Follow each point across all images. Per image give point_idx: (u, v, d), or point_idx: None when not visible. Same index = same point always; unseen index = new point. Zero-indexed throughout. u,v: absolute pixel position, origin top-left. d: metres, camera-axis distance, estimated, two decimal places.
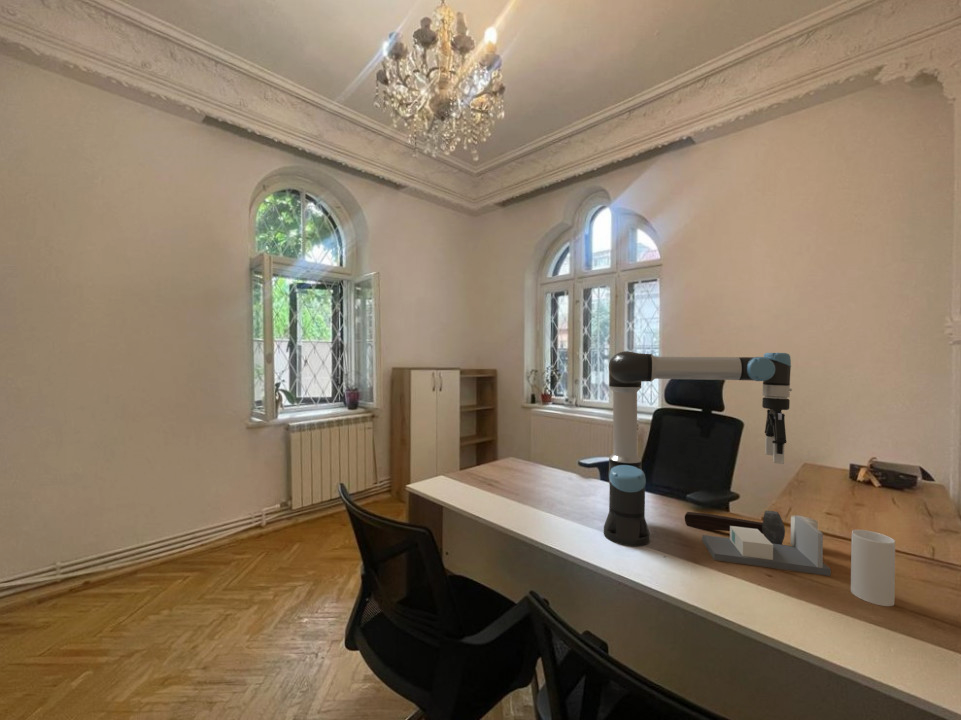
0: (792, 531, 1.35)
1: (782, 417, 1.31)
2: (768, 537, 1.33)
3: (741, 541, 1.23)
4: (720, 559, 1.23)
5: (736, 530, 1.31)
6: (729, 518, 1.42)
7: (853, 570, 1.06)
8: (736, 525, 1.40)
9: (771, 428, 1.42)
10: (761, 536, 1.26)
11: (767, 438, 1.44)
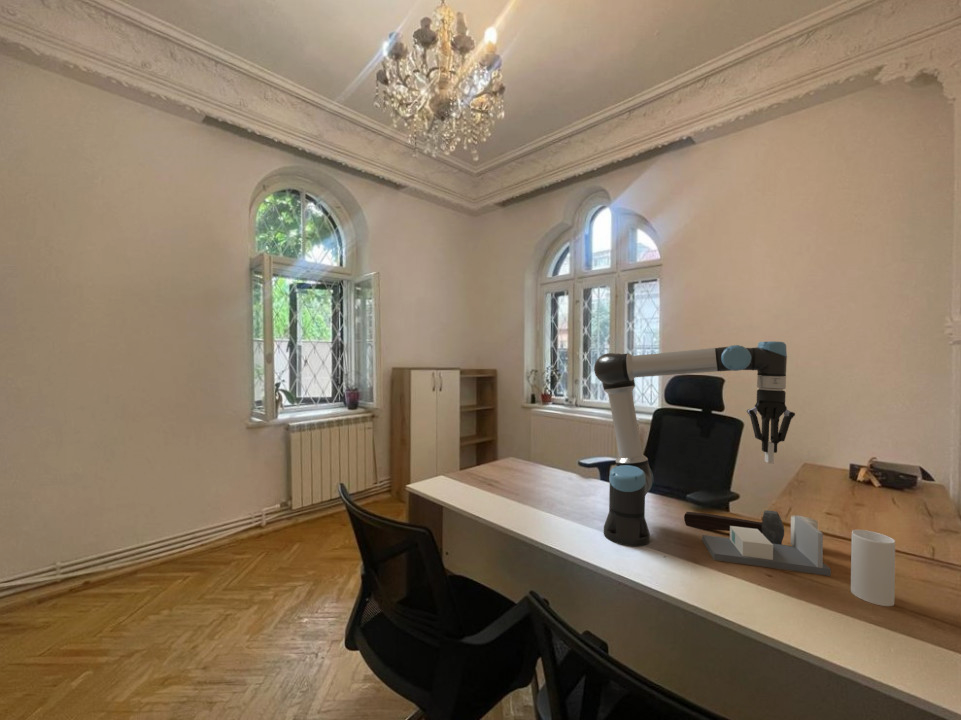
0: (792, 531, 1.35)
1: (750, 414, 1.30)
2: (767, 537, 1.33)
3: (741, 541, 1.23)
4: (720, 559, 1.23)
5: (736, 530, 1.31)
6: (728, 518, 1.42)
7: (853, 570, 1.06)
8: (735, 525, 1.40)
9: (772, 427, 1.29)
10: (761, 536, 1.26)
11: None
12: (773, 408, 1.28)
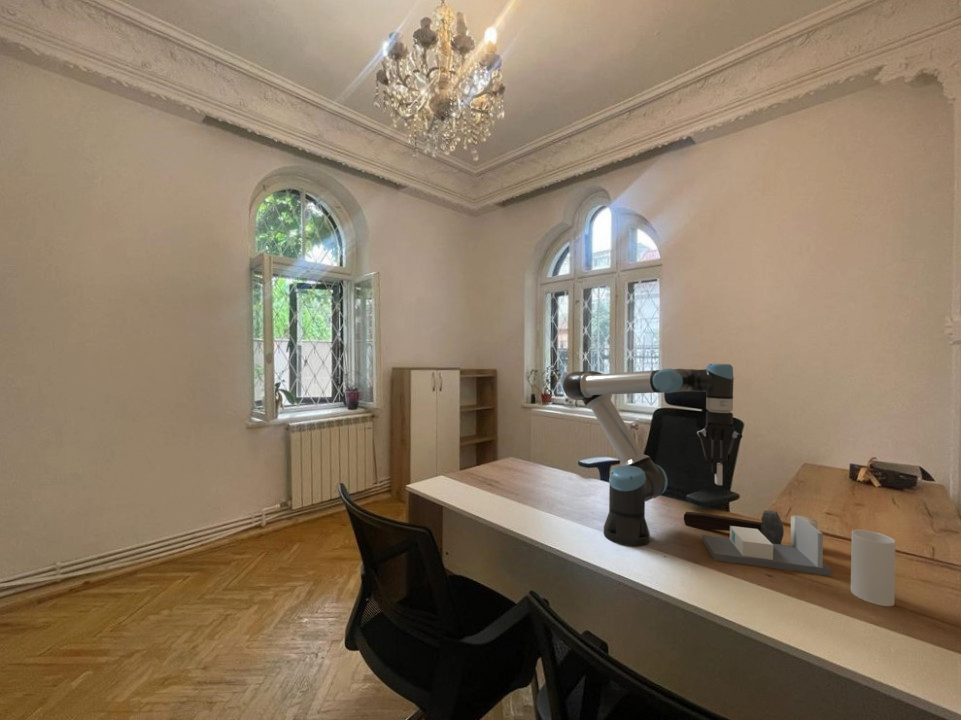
0: (792, 531, 1.35)
1: (699, 436, 1.31)
2: (767, 537, 1.33)
3: (741, 541, 1.23)
4: (720, 559, 1.23)
5: (736, 530, 1.31)
6: (728, 518, 1.43)
7: (853, 570, 1.06)
8: (735, 525, 1.40)
9: (721, 449, 1.30)
10: (761, 536, 1.26)
11: None
12: (721, 430, 1.28)
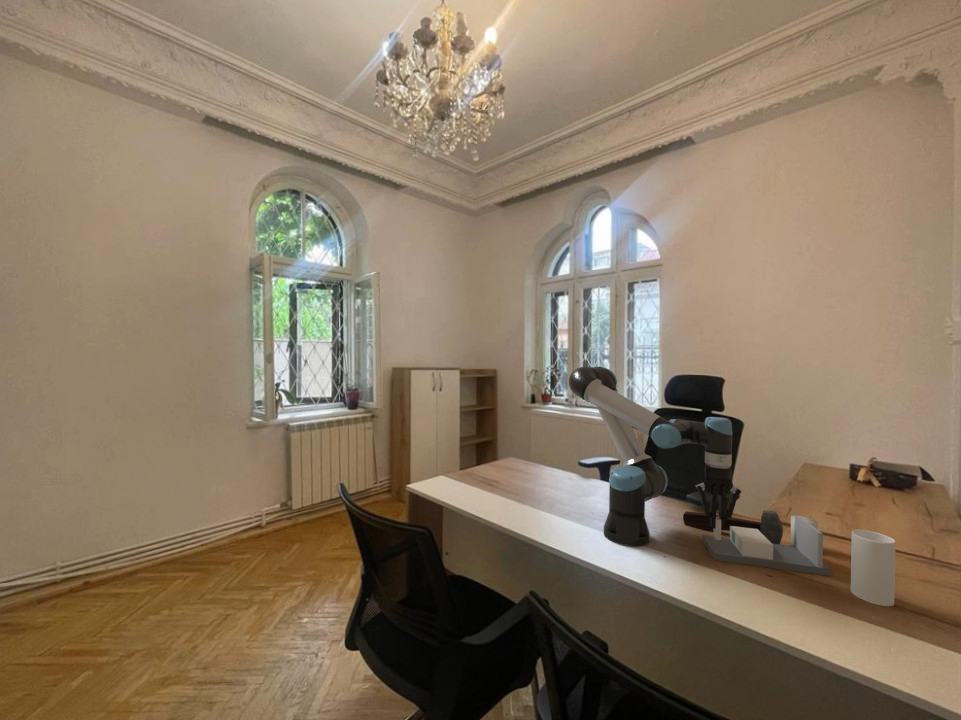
0: (792, 531, 1.35)
1: (698, 490, 1.31)
2: (766, 537, 1.34)
3: (741, 541, 1.23)
4: (720, 559, 1.23)
5: (736, 530, 1.31)
6: (727, 518, 1.43)
7: (853, 570, 1.06)
8: (734, 525, 1.40)
9: (719, 503, 1.30)
10: (761, 536, 1.26)
11: None
12: (720, 485, 1.28)
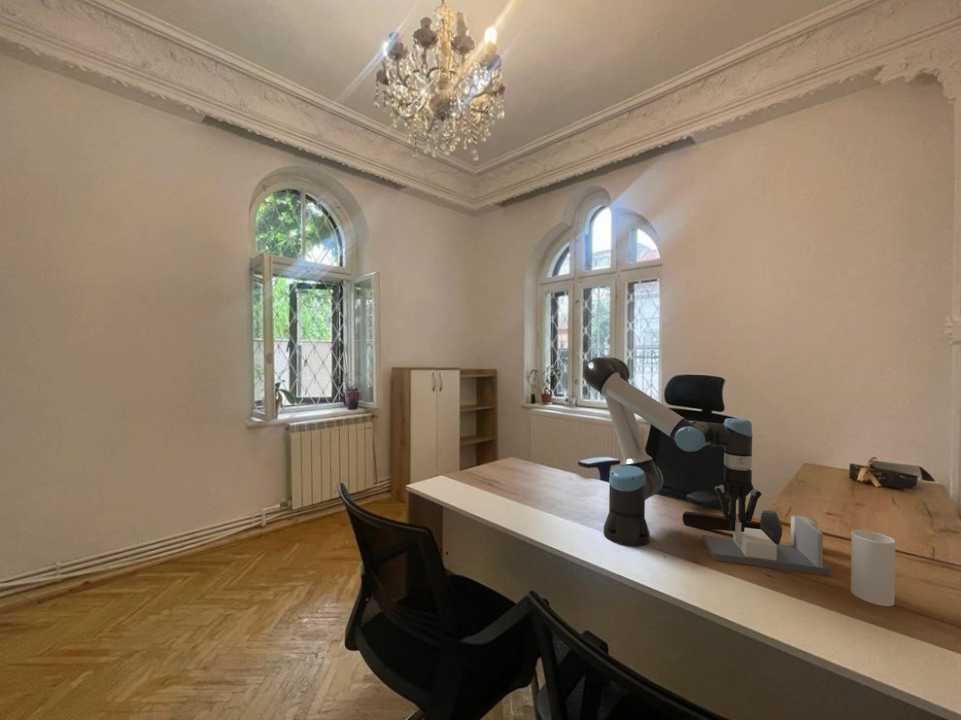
0: (792, 531, 1.35)
1: (717, 492, 1.29)
2: None
3: (745, 542, 1.23)
4: (720, 559, 1.23)
5: None
6: None
7: (853, 570, 1.06)
8: None
9: (739, 506, 1.28)
10: (765, 537, 1.26)
11: None
12: (740, 487, 1.27)
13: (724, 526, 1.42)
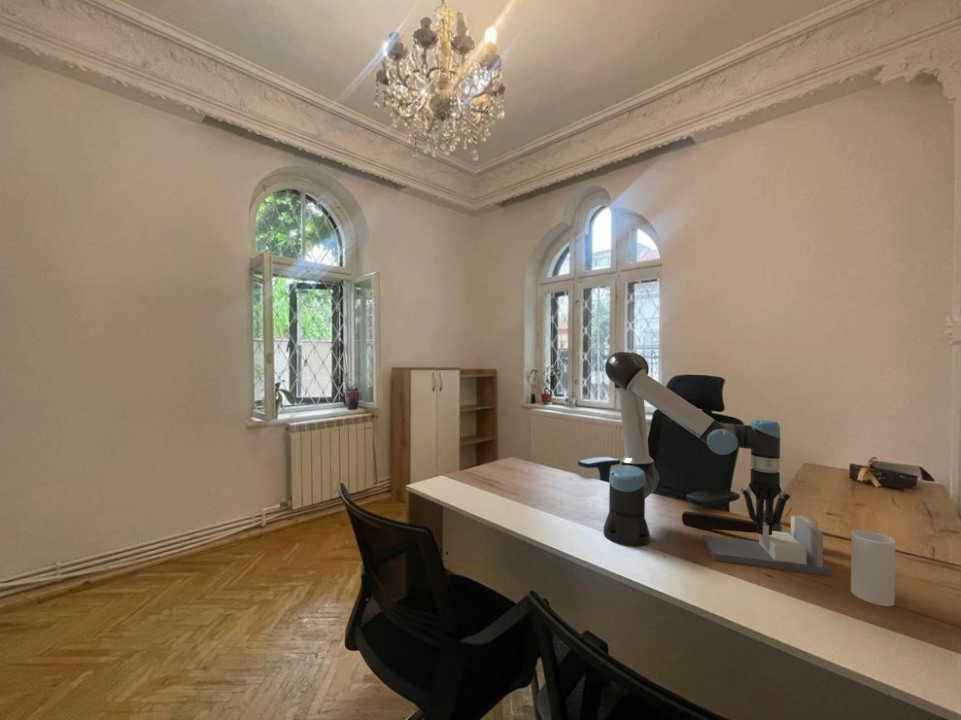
0: (792, 531, 1.35)
1: (744, 494, 1.27)
2: None
3: (773, 545, 1.21)
4: (720, 559, 1.23)
5: None
6: (726, 517, 1.43)
7: (853, 570, 1.06)
8: (733, 524, 1.40)
9: (766, 508, 1.26)
10: (793, 540, 1.24)
11: None
12: (767, 489, 1.25)
13: (723, 526, 1.42)
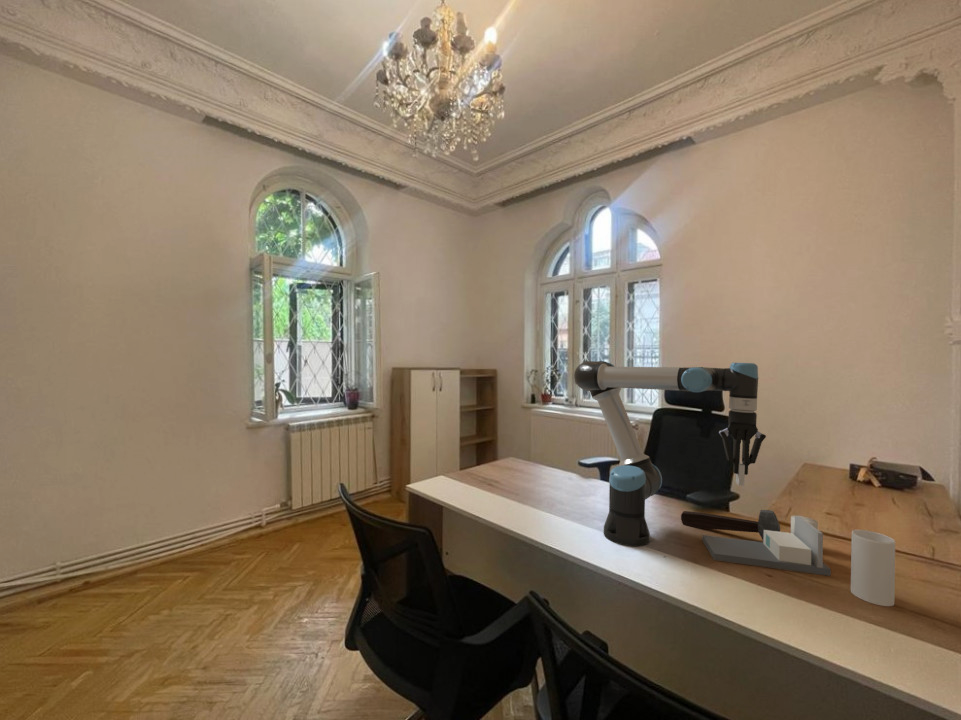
0: (792, 531, 1.35)
1: (721, 435, 1.29)
2: (763, 536, 1.34)
3: (778, 546, 1.21)
4: (720, 559, 1.23)
5: (770, 534, 1.28)
6: (725, 517, 1.43)
7: (853, 570, 1.06)
8: (732, 524, 1.41)
9: (743, 449, 1.28)
10: (797, 540, 1.23)
11: None
12: (744, 430, 1.27)
13: (722, 526, 1.43)
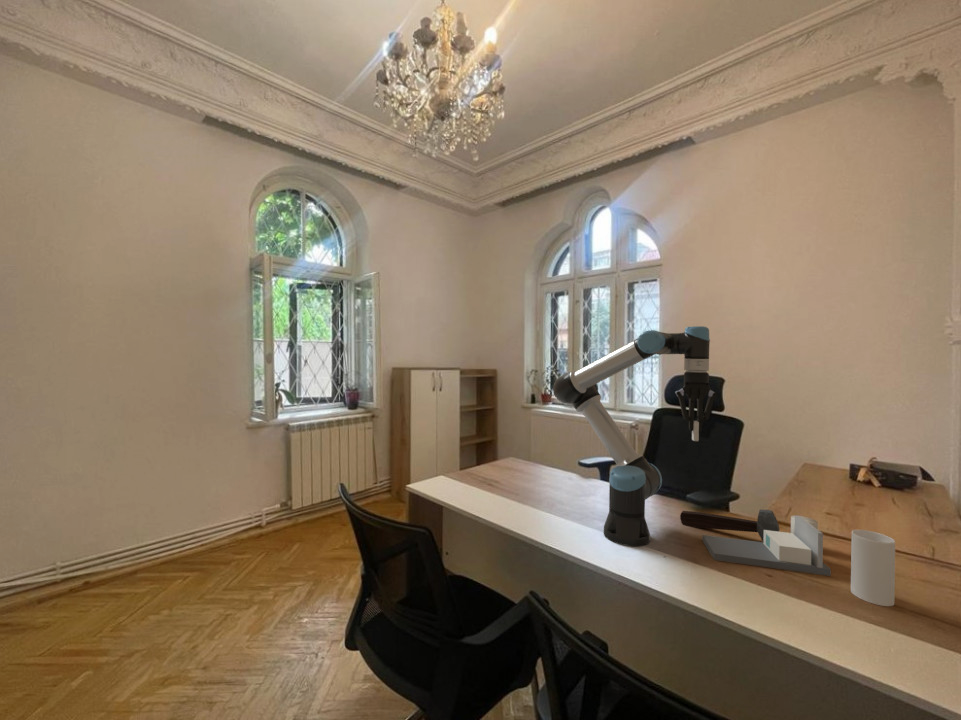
0: (792, 531, 1.35)
1: (677, 395, 1.38)
2: (762, 535, 1.34)
3: (778, 546, 1.21)
4: (720, 559, 1.23)
5: (770, 534, 1.28)
6: (724, 517, 1.43)
7: (853, 570, 1.06)
8: (731, 524, 1.41)
9: (697, 407, 1.37)
10: (797, 540, 1.23)
11: None
12: (698, 389, 1.36)
13: (721, 525, 1.43)
